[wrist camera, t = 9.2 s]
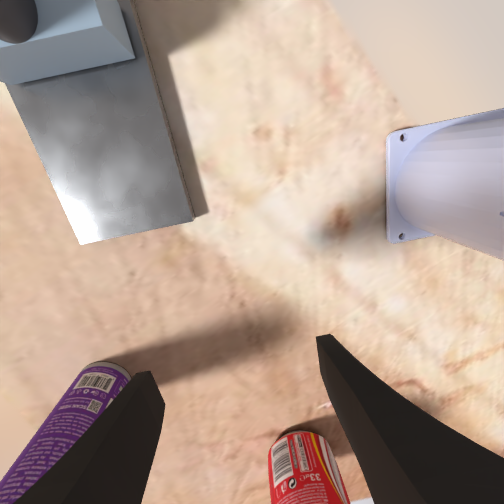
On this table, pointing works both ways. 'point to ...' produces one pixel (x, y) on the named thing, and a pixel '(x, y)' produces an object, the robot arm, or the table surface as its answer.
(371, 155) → the table surface
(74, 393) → the container
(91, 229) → the base
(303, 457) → the soda can
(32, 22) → the sliding jaw
